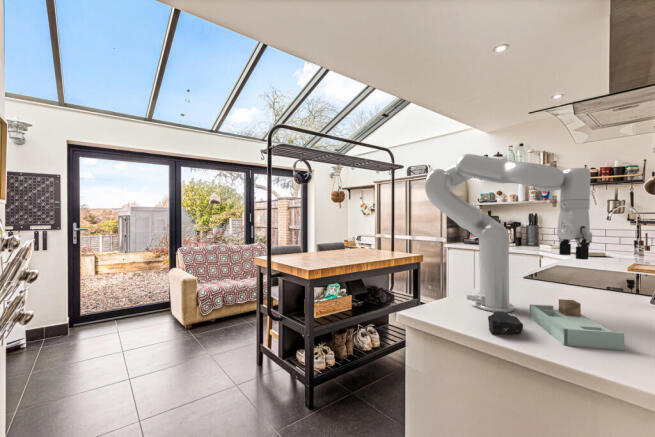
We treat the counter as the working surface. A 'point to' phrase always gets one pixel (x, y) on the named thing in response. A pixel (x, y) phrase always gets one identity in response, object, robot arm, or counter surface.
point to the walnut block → (569, 308)
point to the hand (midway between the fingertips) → (572, 256)
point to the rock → (504, 323)
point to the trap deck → (576, 329)
